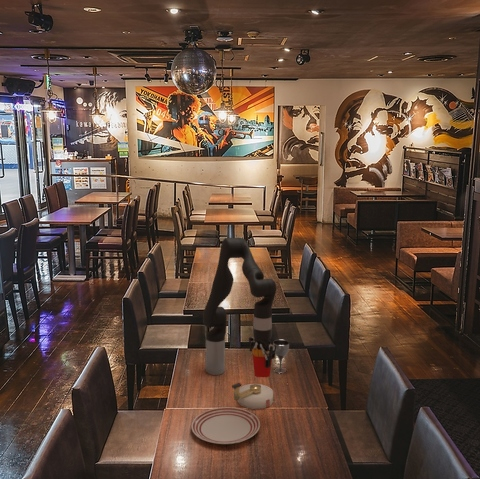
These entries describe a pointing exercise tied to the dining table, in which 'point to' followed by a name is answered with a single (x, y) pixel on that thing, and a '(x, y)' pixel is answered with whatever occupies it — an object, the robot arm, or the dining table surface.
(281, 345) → the wine glass
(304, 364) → the dining table surface
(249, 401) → the crank housing
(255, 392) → the crank
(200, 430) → the dinner plate
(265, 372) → the french fries
